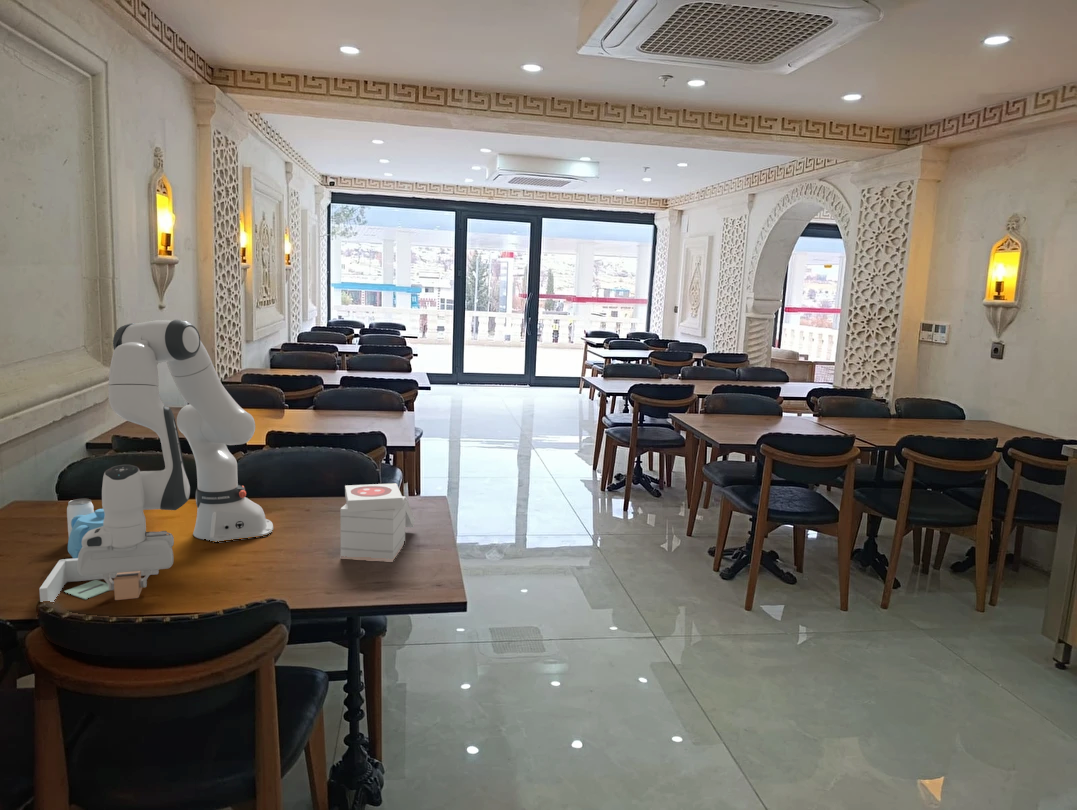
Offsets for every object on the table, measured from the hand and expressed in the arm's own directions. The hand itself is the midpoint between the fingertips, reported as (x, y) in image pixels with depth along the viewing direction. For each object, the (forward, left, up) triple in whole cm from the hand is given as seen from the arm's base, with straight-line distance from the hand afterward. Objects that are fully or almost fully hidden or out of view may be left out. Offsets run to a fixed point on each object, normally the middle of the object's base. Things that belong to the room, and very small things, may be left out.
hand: (128, 587), depth 180 cm
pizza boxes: (-63, -20, -2) cm, 66 cm away
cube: (0, 0, -2) cm, 2 cm away
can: (+18, -41, -2) cm, 45 cm away
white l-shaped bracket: (+6, -4, -2) cm, 7 cm away
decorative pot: (+10, -27, -2) cm, 29 cm away
